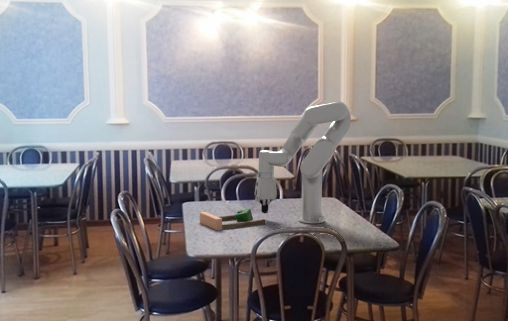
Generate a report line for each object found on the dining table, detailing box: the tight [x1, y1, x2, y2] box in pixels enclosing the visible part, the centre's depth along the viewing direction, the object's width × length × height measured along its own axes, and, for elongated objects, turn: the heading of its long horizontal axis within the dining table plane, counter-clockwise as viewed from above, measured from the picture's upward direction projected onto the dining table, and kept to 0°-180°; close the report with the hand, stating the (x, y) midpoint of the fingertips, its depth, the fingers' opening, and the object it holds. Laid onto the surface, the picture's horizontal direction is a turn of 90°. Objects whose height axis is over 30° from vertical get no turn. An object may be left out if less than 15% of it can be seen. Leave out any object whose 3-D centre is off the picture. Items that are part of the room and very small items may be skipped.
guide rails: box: [218, 214, 267, 230], centre depth 290 cm, size 18×22×2 cm
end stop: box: [199, 211, 223, 231], centre depth 284 cm, size 18×3×5 cm, turn 29°
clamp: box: [234, 207, 254, 223], centre depth 292 cm, size 12×6×9 cm, turn 165°
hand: (264, 212), depth 298 cm, fingers closed
